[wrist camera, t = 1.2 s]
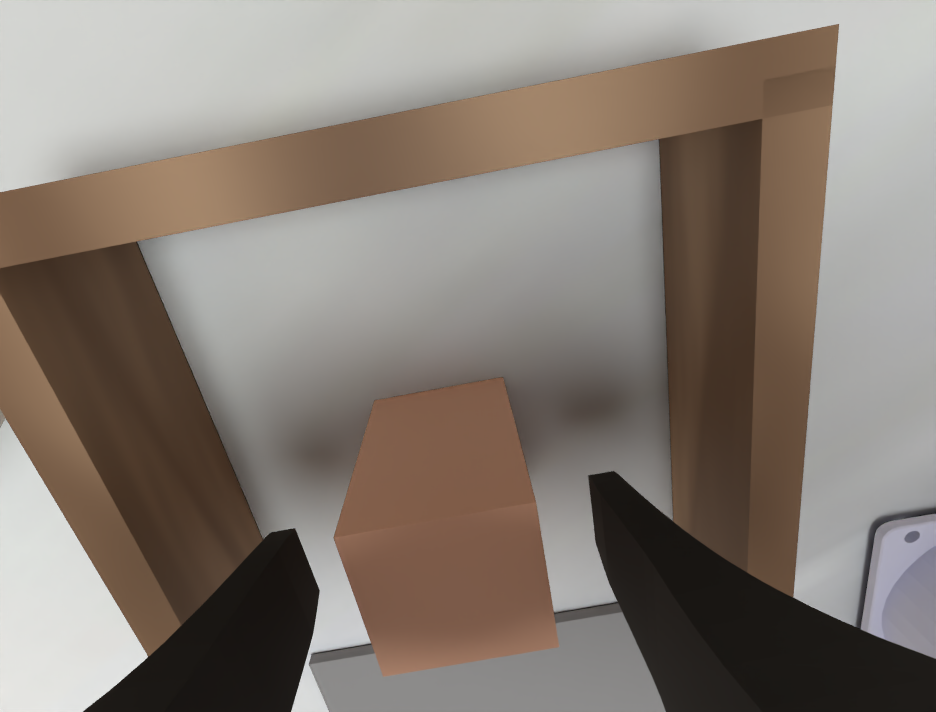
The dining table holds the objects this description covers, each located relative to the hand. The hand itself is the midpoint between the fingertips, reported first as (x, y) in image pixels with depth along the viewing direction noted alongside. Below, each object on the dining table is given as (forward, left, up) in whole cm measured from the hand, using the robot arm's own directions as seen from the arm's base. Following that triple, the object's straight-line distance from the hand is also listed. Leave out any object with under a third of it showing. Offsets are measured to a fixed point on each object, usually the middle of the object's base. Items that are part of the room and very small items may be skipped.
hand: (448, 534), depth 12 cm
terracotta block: (0, 0, -4) cm, 4 cm away
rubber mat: (0, +13, -4) cm, 14 cm away
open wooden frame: (0, -1, -4) cm, 4 cm away
